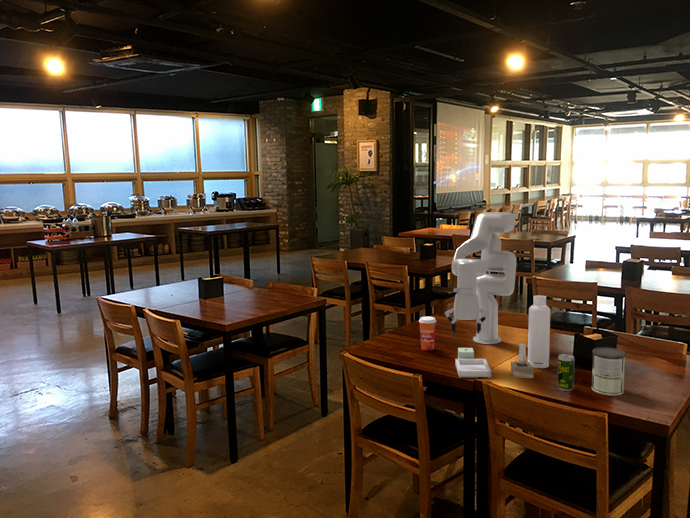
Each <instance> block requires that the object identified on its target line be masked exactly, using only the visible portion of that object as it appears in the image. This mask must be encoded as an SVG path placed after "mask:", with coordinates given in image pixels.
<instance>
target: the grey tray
mask: <svg viewBox="0 0 690 518" xmlns="http://www.w3.org/2000/svg"><path fill="white" fill-rule="evenodd" d="M454 360H455V361H454V362H455V364H454V365H455V368H456V371H457V374H458V378H478V377H488V379H489V378H492V370H491V368H490V365H489V364H488V360H487V359H486V358H474V359H458V358H455V359H454Z"/></svg>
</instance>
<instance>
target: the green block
mask: <svg viewBox="0 0 690 518" xmlns="http://www.w3.org/2000/svg"><path fill="white" fill-rule="evenodd" d="M457 359H475V351H474V348H473V347H458V348H457Z"/></svg>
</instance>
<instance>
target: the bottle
mask: <svg viewBox="0 0 690 518" xmlns="http://www.w3.org/2000/svg"><path fill="white" fill-rule="evenodd" d="M550 331H551V308H550V306H548V305H547V296H546V295H542V294H541V295H539V294H537V295H536V294H535V295H533V304H532V305H531V306H529V307H528V331H527V333H528V339H527V341H528V343H527V362H530V363H531V365H532V366H533V367H534V369H535V368H536V369H546V368H548V367H549V366H550V344H551V343H550V341H551V340H550V336H551V335H550V334H551V332H550Z"/></svg>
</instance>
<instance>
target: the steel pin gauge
mask: <svg viewBox="0 0 690 518" xmlns="http://www.w3.org/2000/svg"><path fill="white" fill-rule="evenodd" d="M526 347H527V345H526V343H519V344H518V362H519V366H525V362H526V355H527V353H526V351H527V350H526V349H527V348H526Z"/></svg>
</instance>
